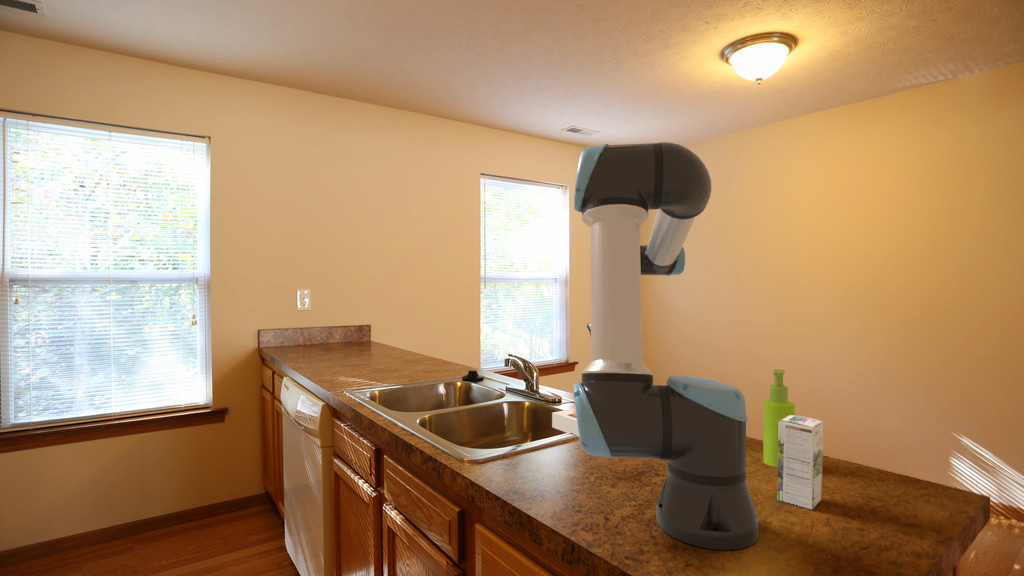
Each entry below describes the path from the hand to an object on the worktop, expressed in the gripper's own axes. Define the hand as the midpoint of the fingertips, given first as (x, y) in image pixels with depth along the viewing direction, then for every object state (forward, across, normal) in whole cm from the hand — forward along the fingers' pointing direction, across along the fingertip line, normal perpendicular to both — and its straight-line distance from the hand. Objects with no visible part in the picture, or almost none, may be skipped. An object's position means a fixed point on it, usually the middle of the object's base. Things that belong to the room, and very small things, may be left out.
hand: (606, 383), depth 137 cm
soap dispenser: (+12, +9, -42) cm, 45 cm away
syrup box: (+12, -7, -54) cm, 56 cm away
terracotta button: (+9, -9, 0) cm, 13 cm away
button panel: (+12, -1, 0) cm, 12 cm away
